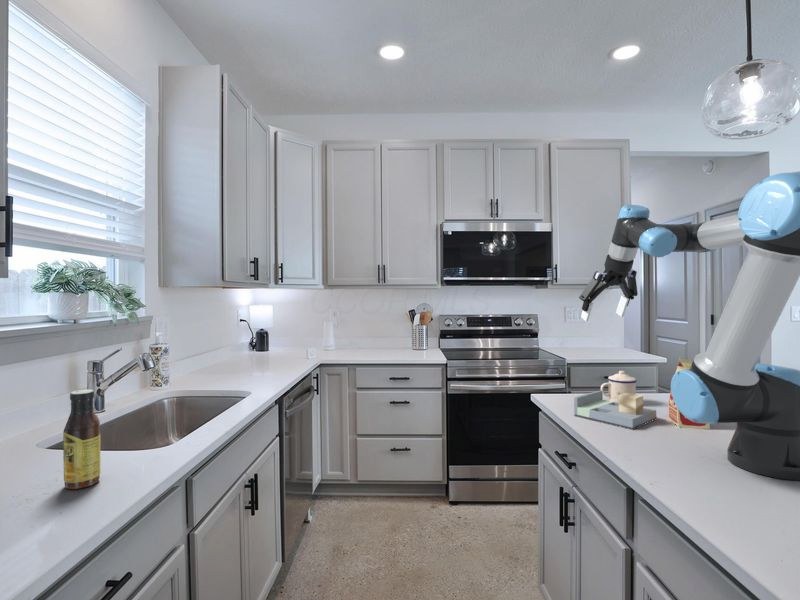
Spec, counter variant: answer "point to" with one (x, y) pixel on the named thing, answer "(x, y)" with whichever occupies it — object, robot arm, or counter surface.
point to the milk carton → (673, 410)
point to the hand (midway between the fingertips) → (602, 317)
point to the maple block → (631, 403)
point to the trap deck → (609, 411)
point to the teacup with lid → (619, 386)
